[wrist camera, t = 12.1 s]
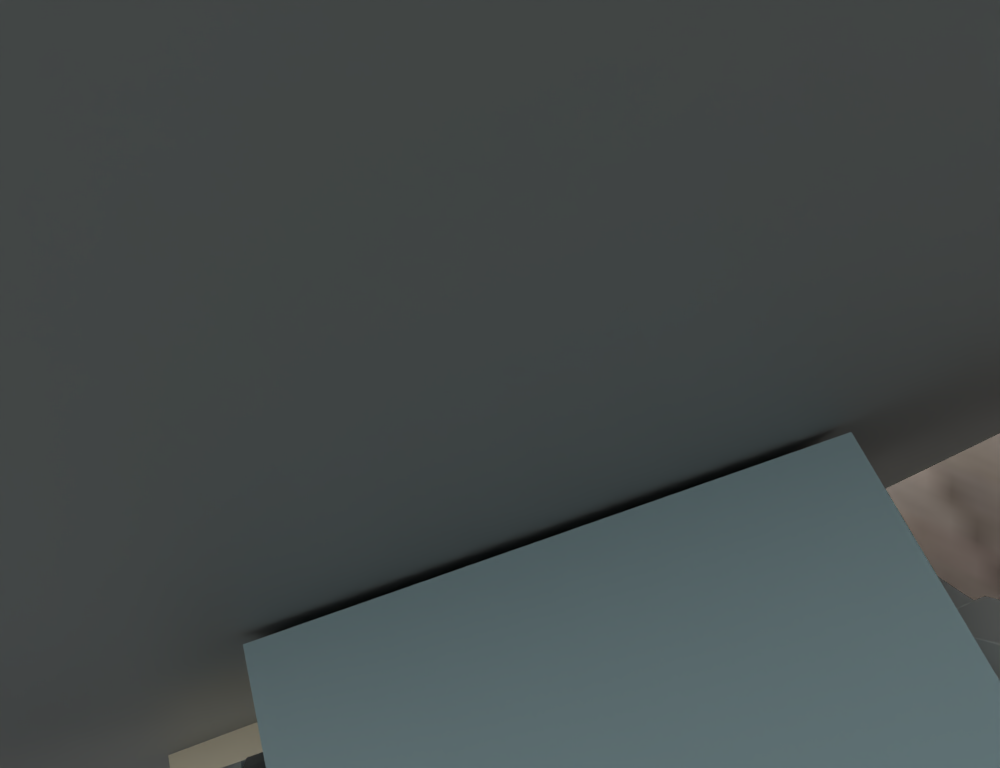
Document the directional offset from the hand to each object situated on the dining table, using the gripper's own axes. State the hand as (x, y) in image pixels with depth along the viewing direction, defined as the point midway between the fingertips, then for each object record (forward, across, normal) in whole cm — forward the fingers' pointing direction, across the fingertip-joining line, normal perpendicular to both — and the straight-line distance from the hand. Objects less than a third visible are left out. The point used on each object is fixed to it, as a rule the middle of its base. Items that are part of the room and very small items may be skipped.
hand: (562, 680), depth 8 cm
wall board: (+13, 0, -10) cm, 17 cm away
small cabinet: (+3, 0, -4) cm, 4 cm away
